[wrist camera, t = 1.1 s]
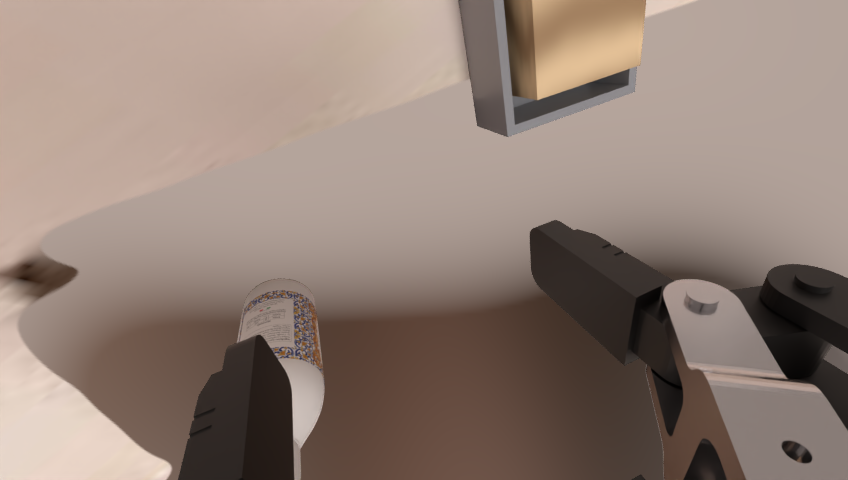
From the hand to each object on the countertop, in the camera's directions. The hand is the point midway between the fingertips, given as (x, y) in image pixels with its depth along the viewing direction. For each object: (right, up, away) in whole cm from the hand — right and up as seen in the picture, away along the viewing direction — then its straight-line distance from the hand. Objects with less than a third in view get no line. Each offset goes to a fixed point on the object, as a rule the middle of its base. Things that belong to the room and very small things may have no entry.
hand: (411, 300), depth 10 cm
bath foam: (-15, -5, +27) cm, 31 cm away
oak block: (+10, +22, +22) cm, 32 cm away
